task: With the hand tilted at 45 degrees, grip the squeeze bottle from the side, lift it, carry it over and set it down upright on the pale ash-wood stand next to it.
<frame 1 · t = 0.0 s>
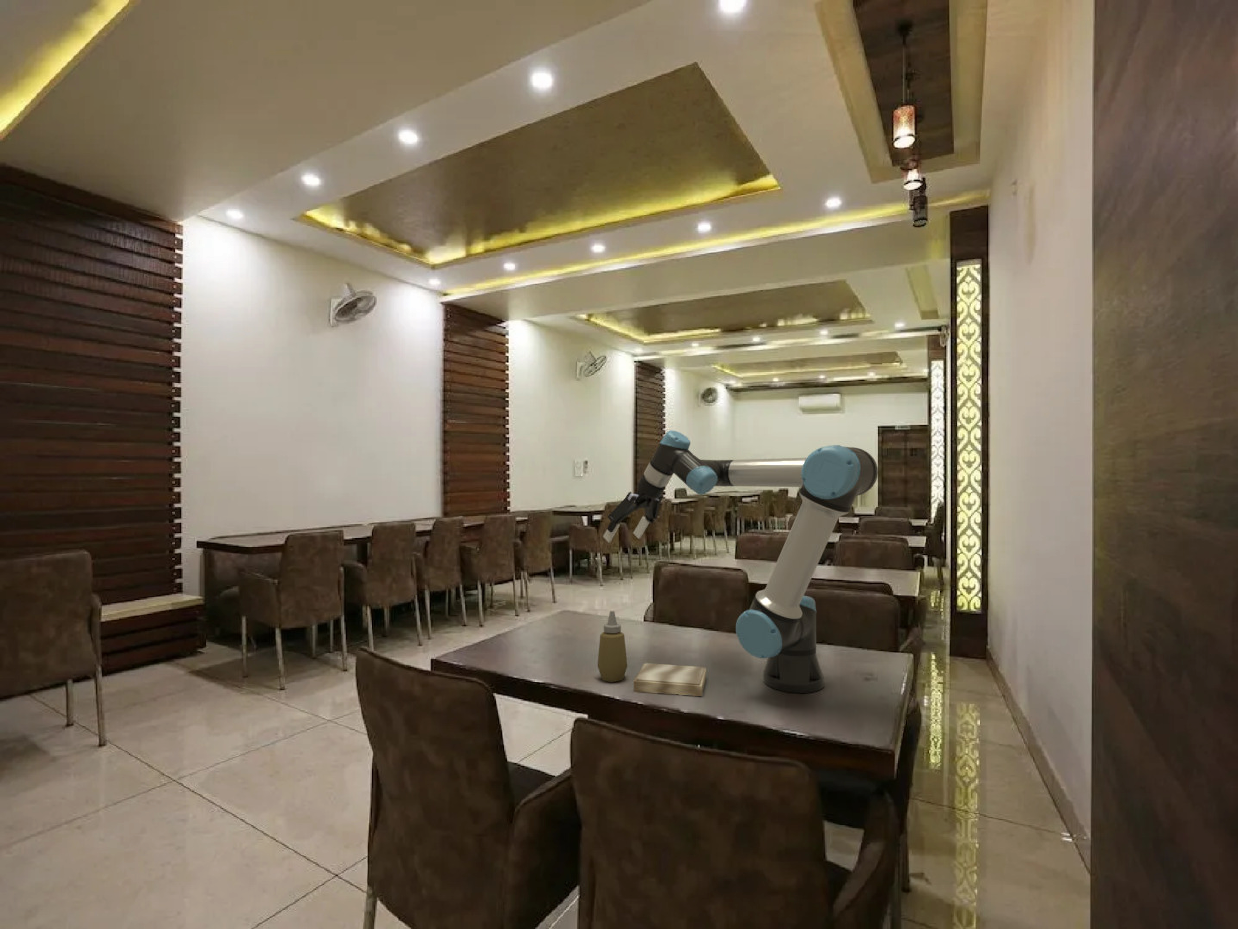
hand: (621, 537, 176), 36 cm above the table, tool tilted 35°, fingers open, 13 cm apart
squeeze bottle: (612, 679, 157), on the table
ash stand: (671, 684, 153), on the table
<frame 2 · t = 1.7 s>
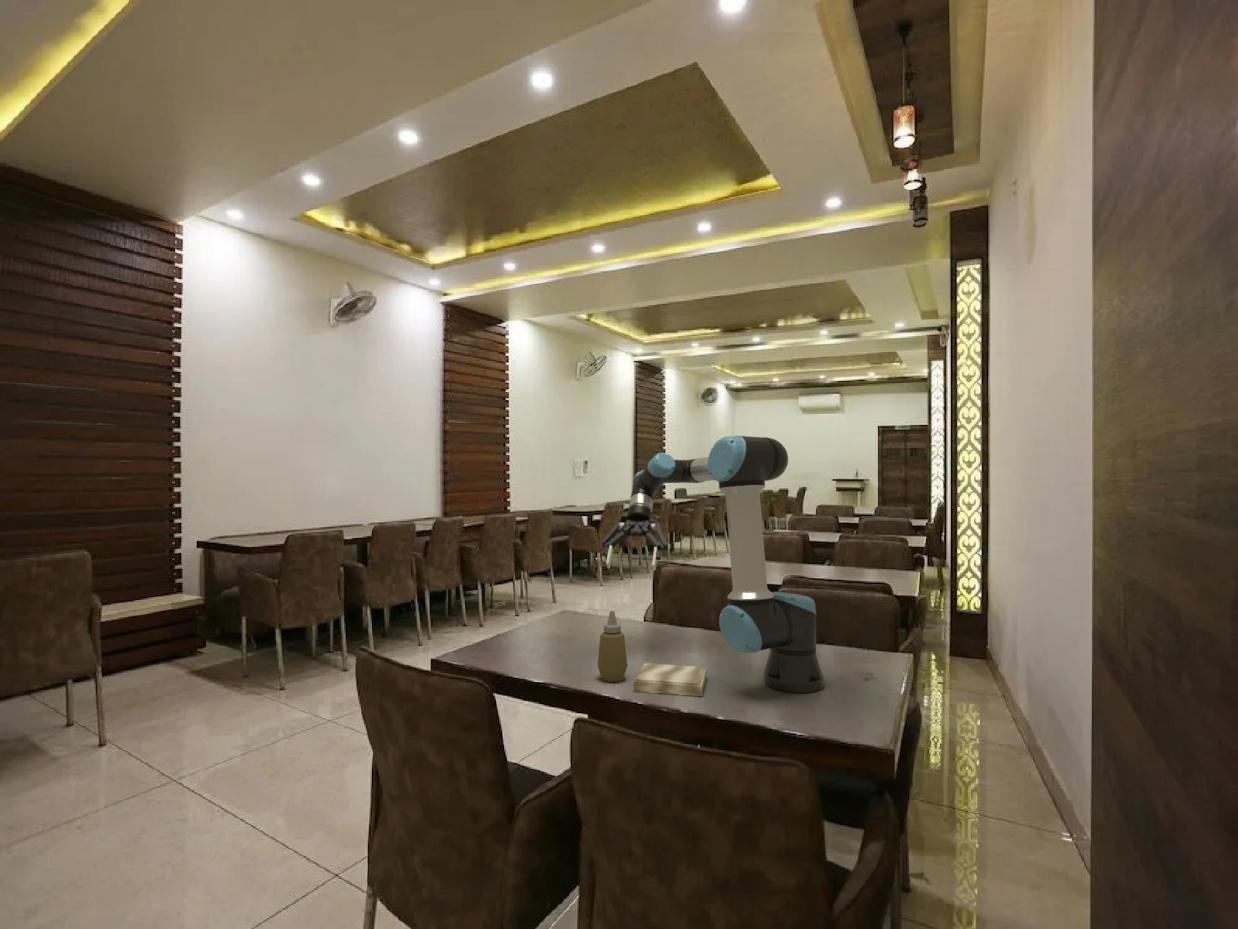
hand: (630, 567, 171), 28 cm above the table, tool tilted 45°, fingers open, 13 cm apart
nothing on the table moved.
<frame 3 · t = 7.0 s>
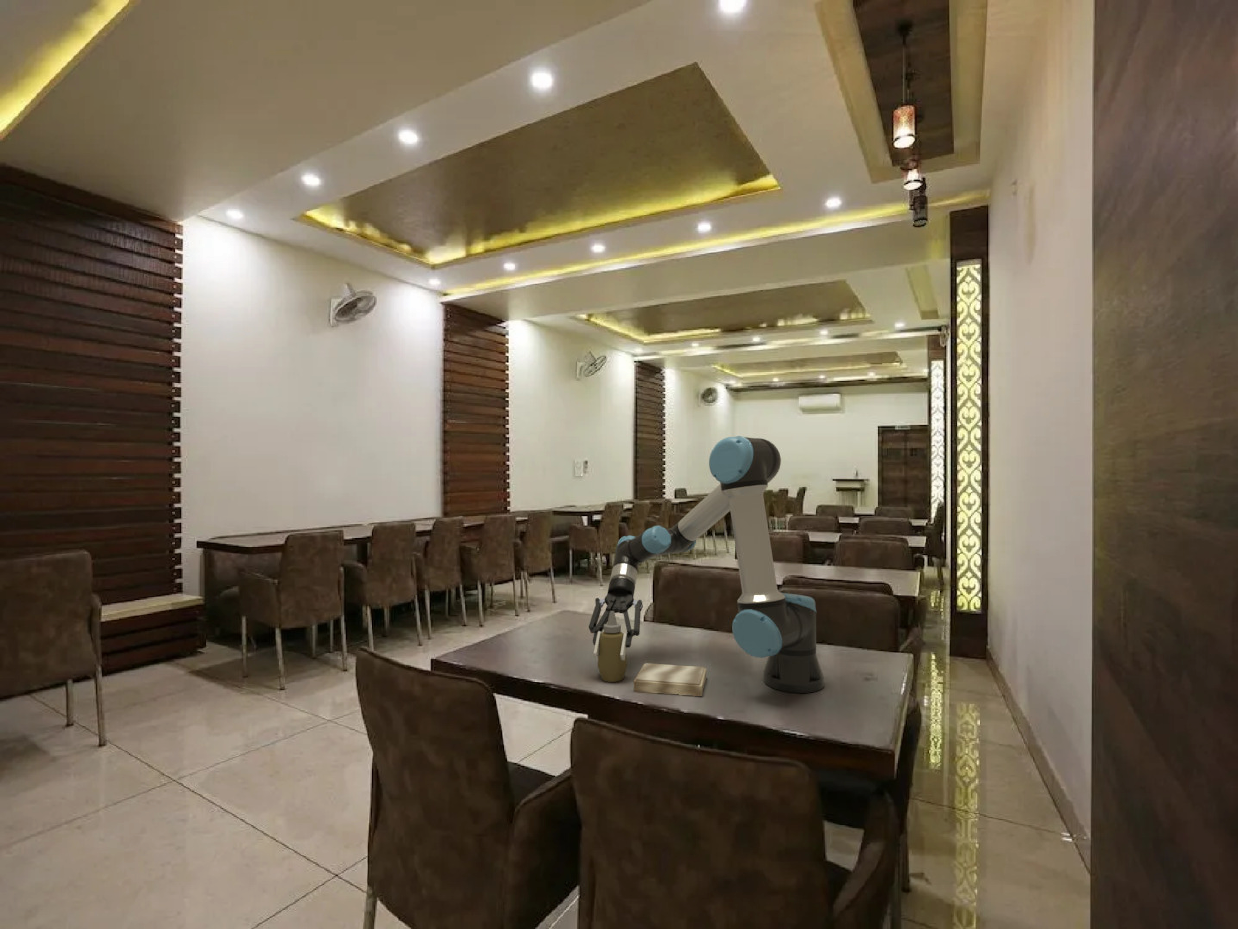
hand: (609, 656, 154), 7 cm above the table, tool tilted 45°, fingers closed on squeeze bottle, 6 cm apart
squeeze bottle: (612, 679, 157), on the table, touching gripper
when the fingers open (11 cm above the table, at t = 12.9 s): squeeze bottle drops 1 cm, resting on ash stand.
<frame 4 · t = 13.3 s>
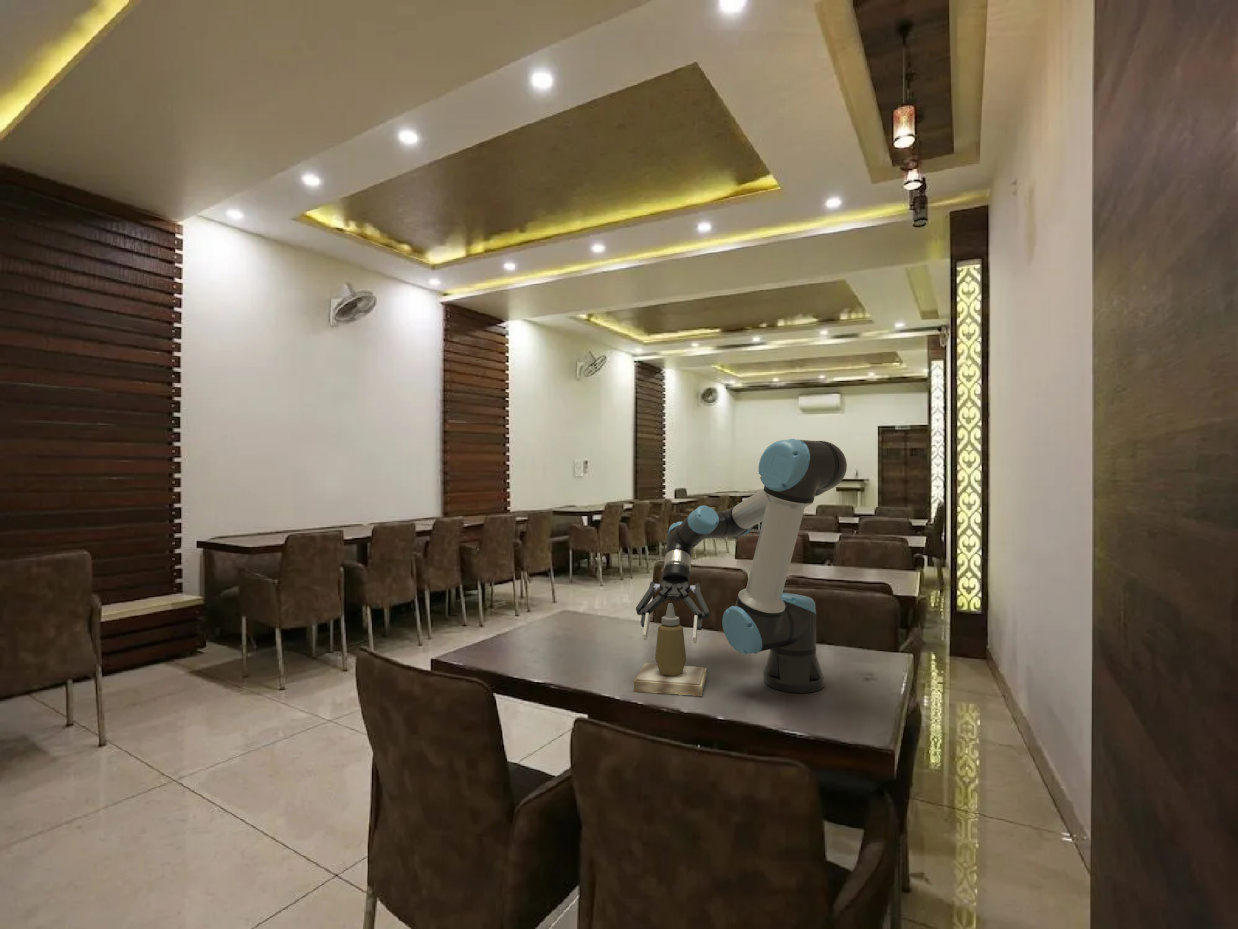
hand: (669, 639, 150), 12 cm above the table, tool tilted 45°, fingers open, 12 cm apart
squeeze bottle: (670, 673, 153), point 3 cm above the table, touching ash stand
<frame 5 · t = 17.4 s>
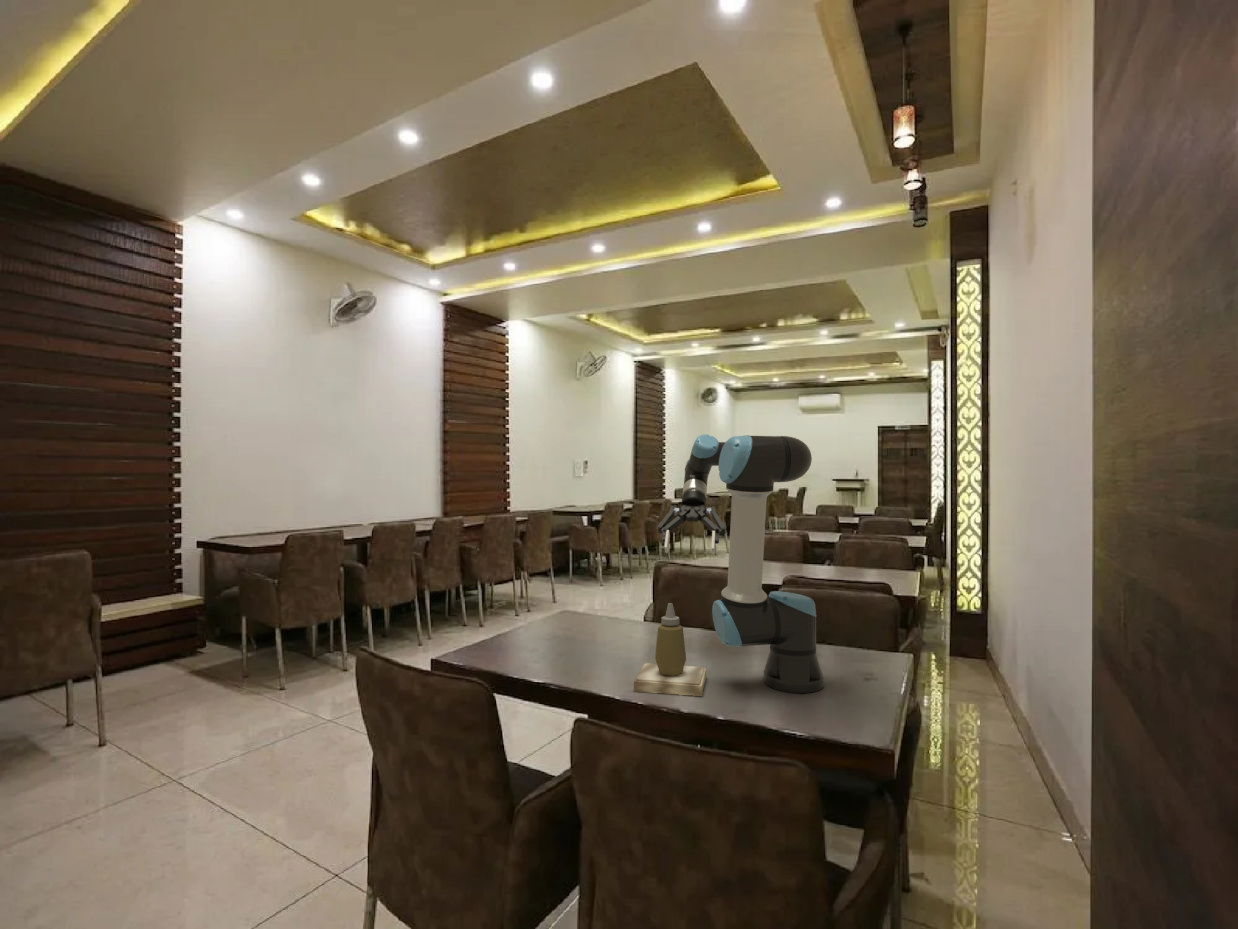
hand: (689, 550, 170), 33 cm above the table, tool tilted 45°, fingers open, 13 cm apart
nothing on the table moved.
at the end: squeeze bottle inside the target area on the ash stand (0.1 cm from its centre), point 2.8 cm above the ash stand's base; squeeze bottle tilted 0°; the gripper is holding nothing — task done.
